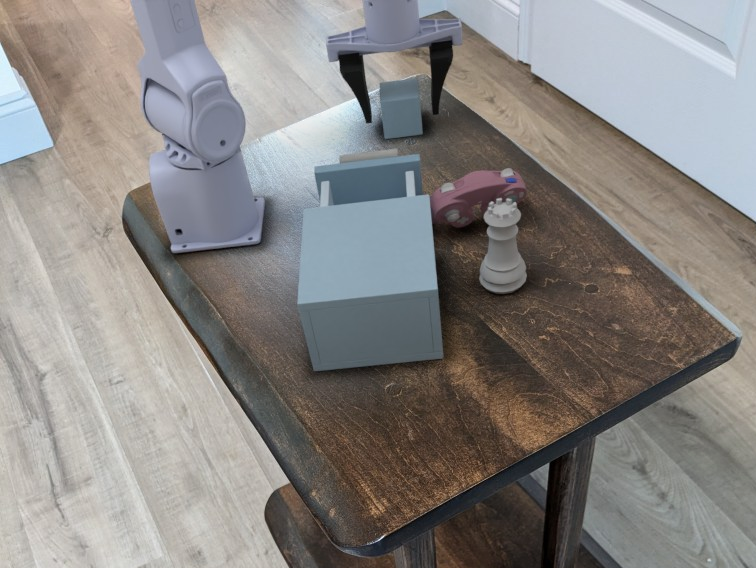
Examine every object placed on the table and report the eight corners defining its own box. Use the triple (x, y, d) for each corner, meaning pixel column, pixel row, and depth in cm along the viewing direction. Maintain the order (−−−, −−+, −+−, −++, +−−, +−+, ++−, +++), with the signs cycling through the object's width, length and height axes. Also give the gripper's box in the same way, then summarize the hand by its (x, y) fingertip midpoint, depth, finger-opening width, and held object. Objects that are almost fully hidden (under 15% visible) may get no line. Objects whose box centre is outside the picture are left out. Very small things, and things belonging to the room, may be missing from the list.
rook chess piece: (469, 283, 82) (465, 209, 75) (501, 260, 83) (501, 185, 77) (504, 302, 79) (503, 227, 73) (536, 278, 81) (539, 203, 75)
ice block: (384, 139, 99) (380, 101, 96) (384, 119, 102) (379, 82, 98) (422, 134, 99) (419, 96, 95) (421, 115, 101) (417, 77, 98)
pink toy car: (432, 248, 88) (436, 211, 81) (420, 209, 89) (423, 169, 82) (524, 225, 89) (536, 186, 82) (511, 186, 90) (522, 144, 83)
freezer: (318, 276, 85) (303, 208, 79) (435, 263, 84) (429, 193, 78) (313, 371, 77) (297, 304, 71) (443, 358, 76) (437, 288, 70)
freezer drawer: (325, 193, 92) (315, 141, 88) (422, 181, 91) (417, 129, 87) (321, 294, 82) (310, 242, 77) (430, 282, 81) (425, 229, 76)
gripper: (456, -39, 90) (462, 89, 101) (319, -20, 91) (340, 104, 102) (461, -11, 86) (467, 120, 97) (318, 9, 87) (339, 136, 98)
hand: (401, 114), depth 99 cm, fingers open, 7 cm apart
